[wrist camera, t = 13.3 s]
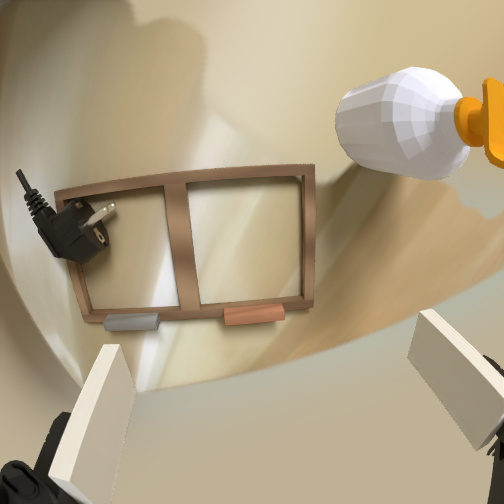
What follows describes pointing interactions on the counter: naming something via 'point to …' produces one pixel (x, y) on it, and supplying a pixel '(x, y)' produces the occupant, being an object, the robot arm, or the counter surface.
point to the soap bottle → (420, 124)
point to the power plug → (68, 225)
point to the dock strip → (185, 252)
